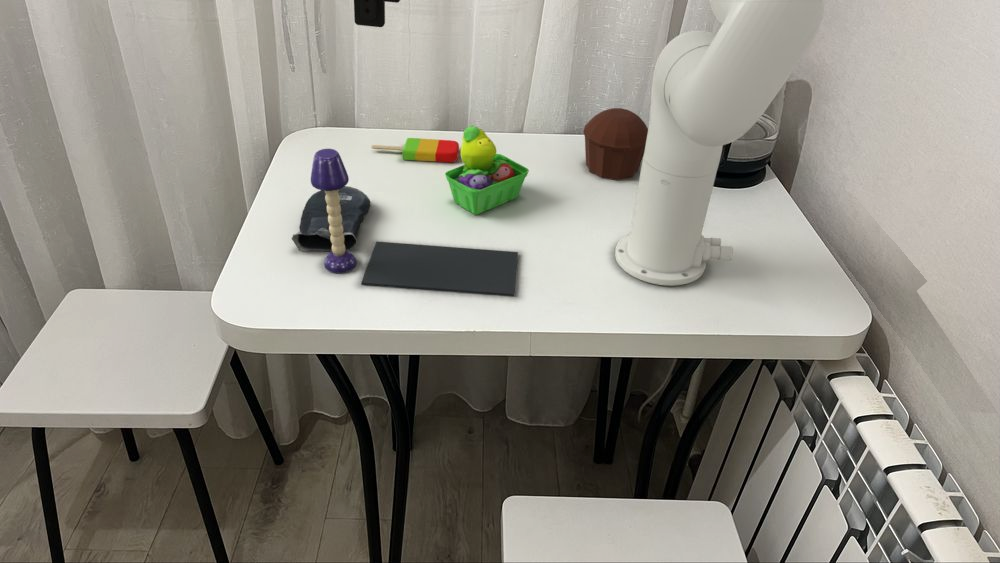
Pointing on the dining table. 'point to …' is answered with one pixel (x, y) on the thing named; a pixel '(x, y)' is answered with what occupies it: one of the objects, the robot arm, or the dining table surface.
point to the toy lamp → (333, 206)
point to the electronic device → (317, 225)
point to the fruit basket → (484, 174)
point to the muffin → (615, 143)
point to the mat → (442, 268)
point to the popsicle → (426, 150)
